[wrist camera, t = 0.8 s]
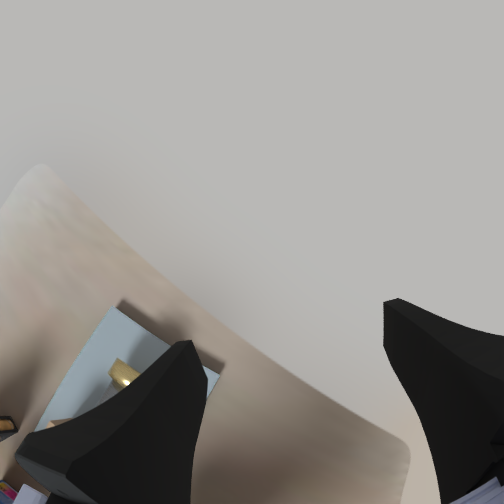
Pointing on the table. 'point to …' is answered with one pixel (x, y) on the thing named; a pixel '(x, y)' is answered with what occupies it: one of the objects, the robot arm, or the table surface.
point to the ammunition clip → (6, 427)
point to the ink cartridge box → (7, 493)
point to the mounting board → (105, 366)
